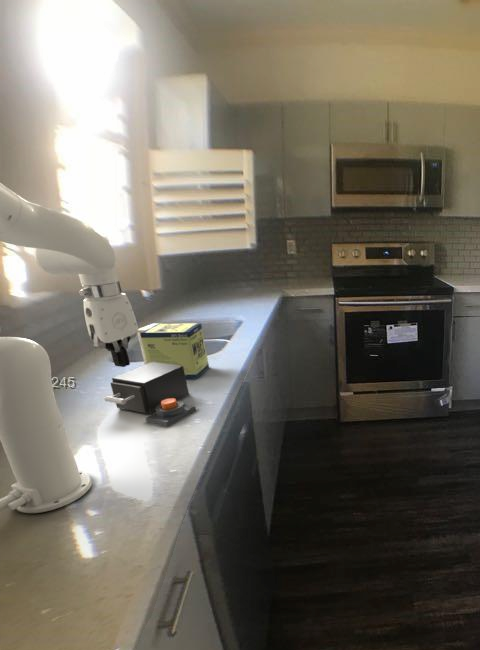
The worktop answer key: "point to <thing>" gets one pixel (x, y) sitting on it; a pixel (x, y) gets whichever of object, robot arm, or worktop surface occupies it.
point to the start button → (169, 403)
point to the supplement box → (141, 340)
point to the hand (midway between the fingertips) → (122, 365)
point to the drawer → (128, 397)
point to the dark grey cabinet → (157, 382)
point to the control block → (170, 414)
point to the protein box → (177, 347)
